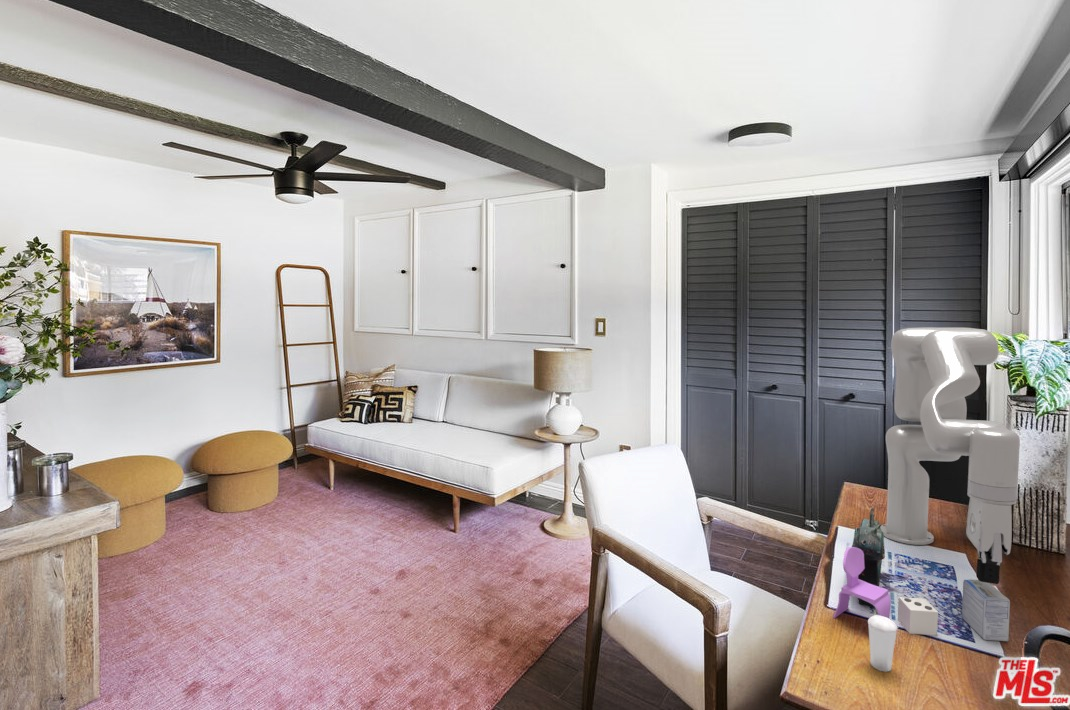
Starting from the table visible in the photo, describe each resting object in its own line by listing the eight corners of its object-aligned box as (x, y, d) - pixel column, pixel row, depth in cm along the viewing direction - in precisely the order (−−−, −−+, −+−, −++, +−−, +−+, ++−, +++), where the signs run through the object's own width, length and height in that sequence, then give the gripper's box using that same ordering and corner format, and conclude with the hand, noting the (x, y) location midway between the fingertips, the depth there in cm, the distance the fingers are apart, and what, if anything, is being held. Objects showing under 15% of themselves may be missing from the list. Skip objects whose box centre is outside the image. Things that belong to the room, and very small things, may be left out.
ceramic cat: (882, 613, 119) (886, 523, 117) (848, 605, 122) (850, 517, 120) (883, 574, 135) (886, 494, 133) (852, 568, 139) (855, 490, 137)
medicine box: (1009, 642, 108) (1011, 600, 107) (982, 640, 109) (985, 598, 108) (985, 619, 116) (987, 579, 115) (960, 617, 116) (962, 578, 116)
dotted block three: (897, 619, 116) (898, 596, 116) (924, 621, 116) (925, 597, 115) (909, 633, 112) (910, 609, 111) (937, 635, 111) (938, 611, 110)
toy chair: (875, 639, 110) (878, 566, 109) (830, 619, 117) (831, 550, 116) (893, 624, 115) (896, 554, 113) (848, 606, 122) (850, 540, 120)
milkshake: (894, 680, 98) (896, 626, 97) (862, 664, 102) (863, 613, 101) (905, 669, 101) (907, 617, 100) (873, 655, 105) (874, 604, 104)
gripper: (958, 478, 118) (954, 562, 119) (979, 500, 104) (975, 595, 106) (1002, 482, 115) (998, 568, 116) (1031, 506, 101) (1025, 603, 103)
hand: (987, 580), depth 111 cm, fingers closed
